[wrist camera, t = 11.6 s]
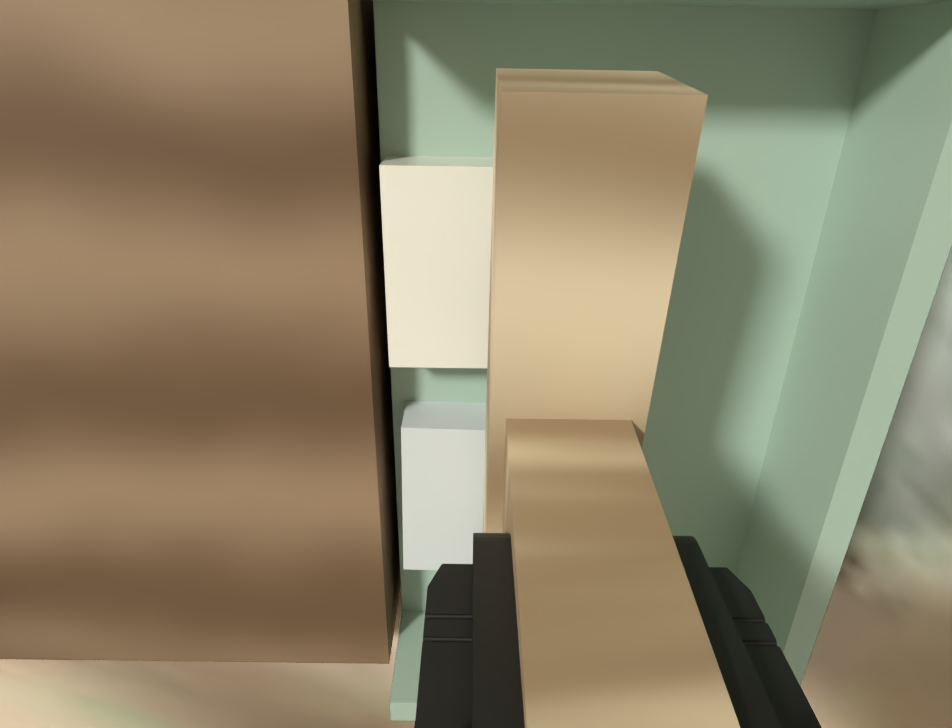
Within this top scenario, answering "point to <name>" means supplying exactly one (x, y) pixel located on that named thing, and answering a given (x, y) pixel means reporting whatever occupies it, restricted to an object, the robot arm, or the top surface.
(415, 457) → the grey tile
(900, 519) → the top surface
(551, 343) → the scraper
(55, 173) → the walnut plate
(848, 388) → the box
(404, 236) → the cream tile
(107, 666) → the top surface
